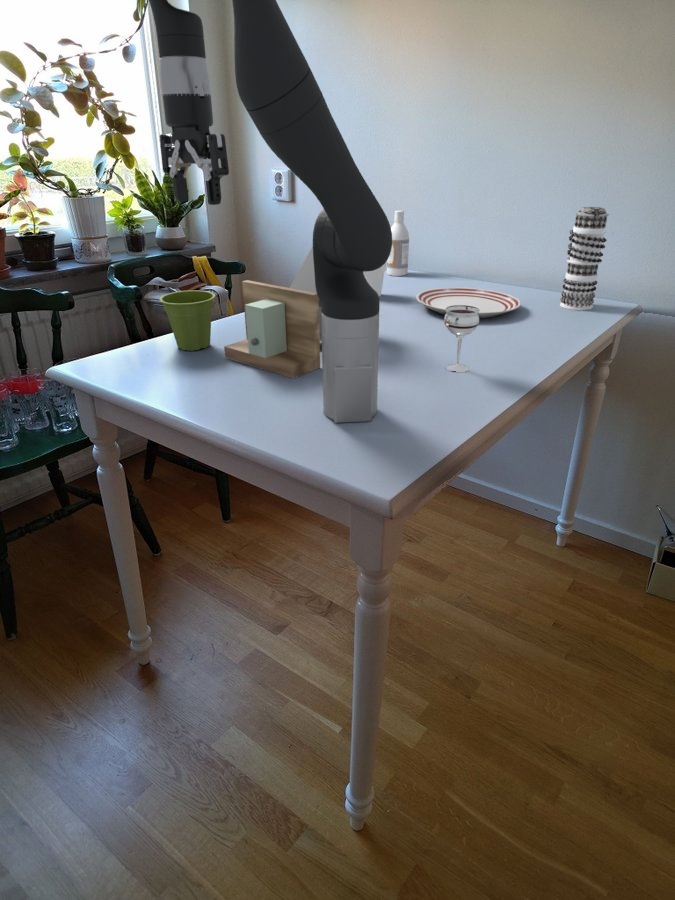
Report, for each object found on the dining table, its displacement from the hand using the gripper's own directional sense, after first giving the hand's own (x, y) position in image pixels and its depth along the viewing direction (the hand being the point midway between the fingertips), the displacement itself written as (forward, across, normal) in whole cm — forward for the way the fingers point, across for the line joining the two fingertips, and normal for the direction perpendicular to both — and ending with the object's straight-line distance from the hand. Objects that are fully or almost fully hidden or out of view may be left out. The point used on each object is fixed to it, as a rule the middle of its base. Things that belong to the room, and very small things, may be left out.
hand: (198, 202), depth 104 cm
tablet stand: (+32, -1, +35) cm, 47 cm away
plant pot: (+32, -20, +11) cm, 40 cm away
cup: (+32, -18, +73) cm, 82 cm away
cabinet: (+30, +1, +13) cm, 32 cm away
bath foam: (+32, -28, +103) cm, 111 cm away
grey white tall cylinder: (+32, +34, +98) cm, 108 cm away
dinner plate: (+33, +12, +77) cm, 85 cm away
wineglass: (+32, +33, +35) cm, 58 cm away
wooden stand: (+32, +1, +14) cm, 35 cm away
